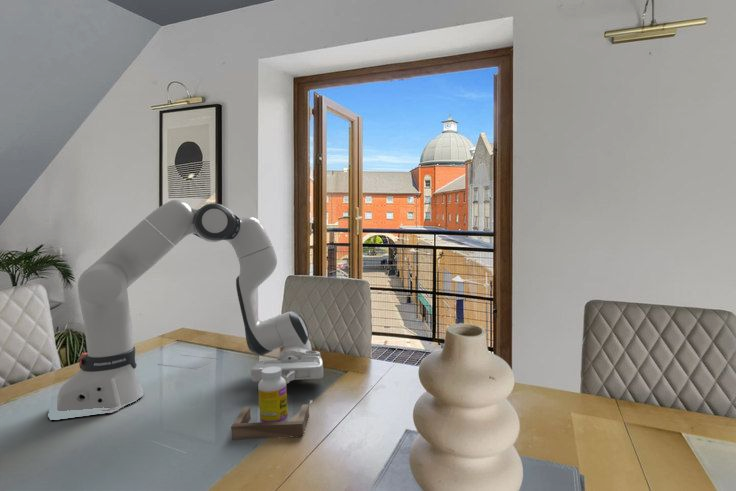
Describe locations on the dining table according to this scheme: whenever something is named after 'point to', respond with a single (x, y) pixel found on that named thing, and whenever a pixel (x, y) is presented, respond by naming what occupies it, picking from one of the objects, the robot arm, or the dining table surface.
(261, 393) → the supplement bottle
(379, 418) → the dining table surface
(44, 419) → the dining table surface
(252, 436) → the walnut bay
